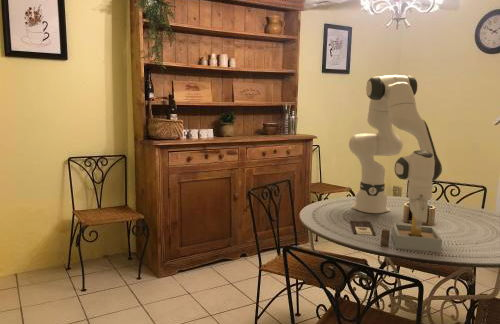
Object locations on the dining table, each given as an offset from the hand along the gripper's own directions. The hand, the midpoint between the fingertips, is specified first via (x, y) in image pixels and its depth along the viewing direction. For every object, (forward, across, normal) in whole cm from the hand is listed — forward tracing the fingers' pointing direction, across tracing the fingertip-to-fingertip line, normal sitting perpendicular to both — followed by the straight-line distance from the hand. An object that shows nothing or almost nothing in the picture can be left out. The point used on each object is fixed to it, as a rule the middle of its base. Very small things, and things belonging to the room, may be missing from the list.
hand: (416, 227), depth 164 cm
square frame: (+7, 0, 0) cm, 7 cm away
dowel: (+4, 0, 0) cm, 4 cm away
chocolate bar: (+7, +13, +20) cm, 25 cm away
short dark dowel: (+7, -6, +12) cm, 15 cm away
